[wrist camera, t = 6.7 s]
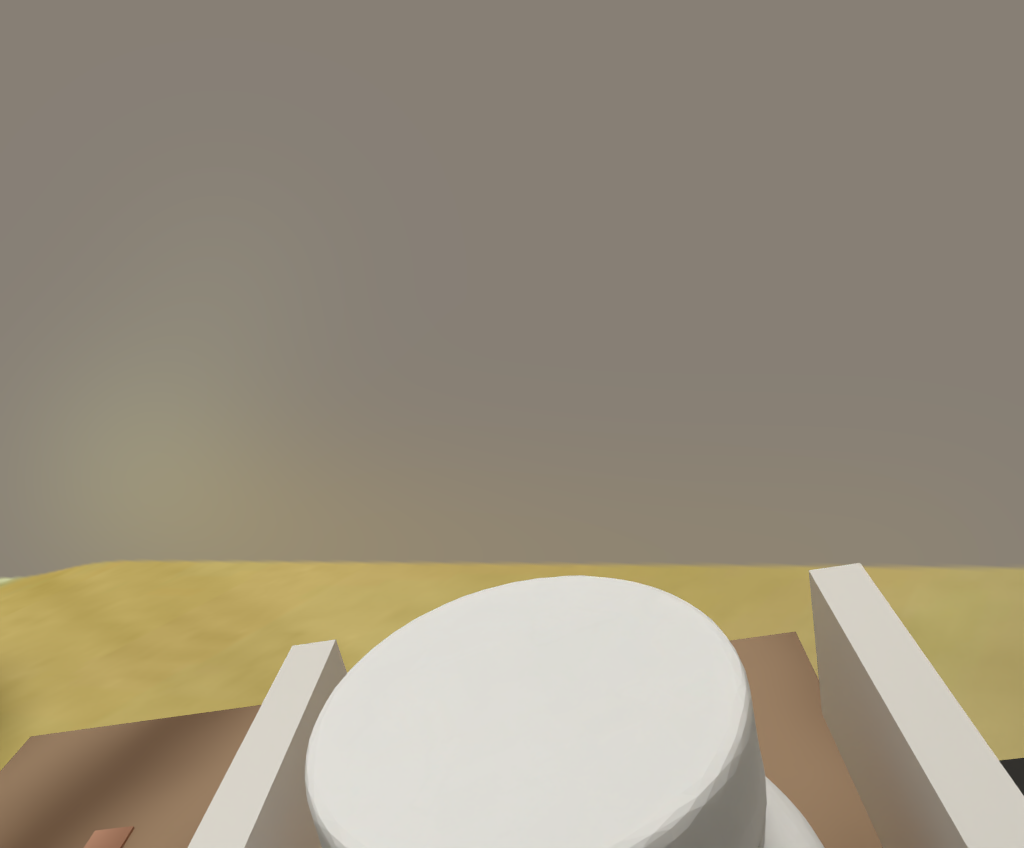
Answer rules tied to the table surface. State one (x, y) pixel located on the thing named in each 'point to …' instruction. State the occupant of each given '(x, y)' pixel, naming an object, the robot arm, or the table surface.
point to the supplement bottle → (548, 730)
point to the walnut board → (218, 735)
